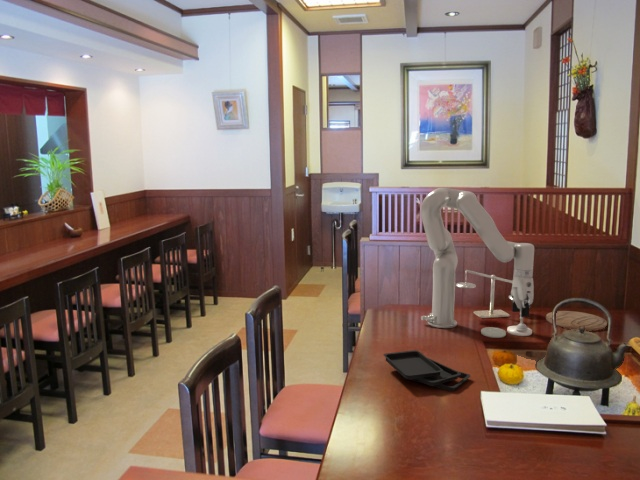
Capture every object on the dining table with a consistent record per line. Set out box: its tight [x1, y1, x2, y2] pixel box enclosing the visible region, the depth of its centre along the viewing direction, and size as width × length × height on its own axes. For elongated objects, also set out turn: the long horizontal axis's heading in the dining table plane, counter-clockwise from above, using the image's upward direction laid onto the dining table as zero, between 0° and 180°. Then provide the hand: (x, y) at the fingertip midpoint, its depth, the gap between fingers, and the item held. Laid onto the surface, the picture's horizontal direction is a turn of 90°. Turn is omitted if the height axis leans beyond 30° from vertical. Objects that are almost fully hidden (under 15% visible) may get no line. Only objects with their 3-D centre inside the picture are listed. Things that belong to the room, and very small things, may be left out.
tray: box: [383, 349, 471, 392], centre depth 191 cm, size 30×23×5 cm
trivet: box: [545, 310, 608, 330], centre depth 252 cm, size 25×25×2 cm
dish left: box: [480, 326, 507, 339], centre depth 236 cm, size 10×10×1 cm
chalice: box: [511, 286, 528, 331], centre depth 237 cm, size 7×7×18 cm
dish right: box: [506, 325, 533, 337], centre depth 239 cm, size 10×10×1 cm
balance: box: [455, 269, 513, 319], centre depth 261 cm, size 36×9×22 cm, turn 101°
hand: (520, 313), depth 237 cm, fingers open, 6 cm apart
